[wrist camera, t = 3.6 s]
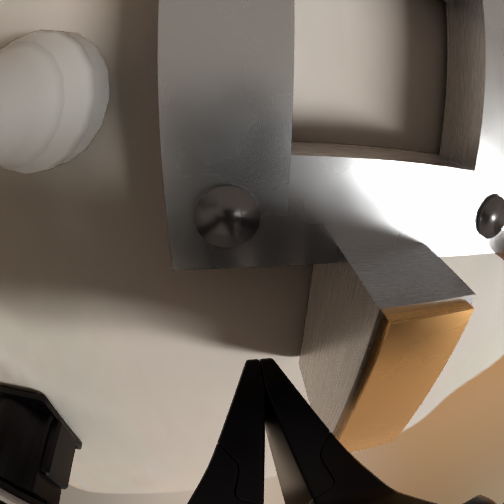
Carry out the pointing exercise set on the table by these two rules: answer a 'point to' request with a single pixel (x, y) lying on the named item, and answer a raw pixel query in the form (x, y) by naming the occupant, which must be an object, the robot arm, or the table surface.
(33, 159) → the rook chess piece
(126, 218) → the table surface
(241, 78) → the grey bolted fixture plate
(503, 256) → the dowel
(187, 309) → the table surface
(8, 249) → the table surface
